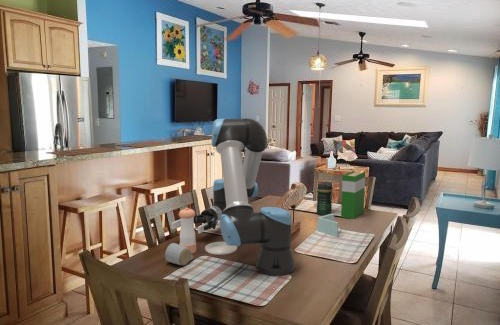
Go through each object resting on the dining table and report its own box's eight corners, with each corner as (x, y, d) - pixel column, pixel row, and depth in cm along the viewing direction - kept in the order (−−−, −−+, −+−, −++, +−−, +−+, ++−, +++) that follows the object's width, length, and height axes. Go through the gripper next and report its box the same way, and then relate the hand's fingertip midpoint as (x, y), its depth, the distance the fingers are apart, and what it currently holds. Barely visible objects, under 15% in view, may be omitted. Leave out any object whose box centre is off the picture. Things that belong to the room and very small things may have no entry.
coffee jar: (328, 216, 220) (329, 184, 217) (315, 215, 223) (315, 183, 221) (333, 212, 228) (334, 181, 226) (320, 211, 232) (320, 180, 229)
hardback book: (351, 210, 234) (353, 170, 230) (363, 212, 230) (365, 172, 226) (341, 217, 219) (342, 175, 216) (353, 219, 215) (355, 176, 212)
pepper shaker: (193, 254, 164) (192, 210, 161) (176, 253, 165) (175, 209, 163) (198, 248, 171) (197, 206, 168) (183, 247, 173) (181, 205, 170)
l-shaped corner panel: (336, 238, 186) (337, 223, 185) (317, 232, 195) (317, 217, 194) (351, 232, 194) (352, 218, 193) (332, 227, 203) (332, 213, 202)
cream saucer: (243, 249, 170) (243, 247, 170) (218, 257, 161) (218, 255, 161) (223, 241, 180) (223, 239, 180) (198, 248, 171) (198, 246, 171)
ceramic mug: (180, 268, 149) (180, 249, 148) (164, 264, 154) (164, 245, 153) (197, 260, 158) (197, 242, 157) (182, 256, 163) (182, 238, 162)
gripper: (234, 226, 180) (210, 240, 161) (189, 220, 191) (162, 232, 172) (234, 211, 179) (210, 223, 160) (188, 205, 190) (161, 216, 171)
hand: (185, 228), depth 166 cm, fingers open, 13 cm apart
